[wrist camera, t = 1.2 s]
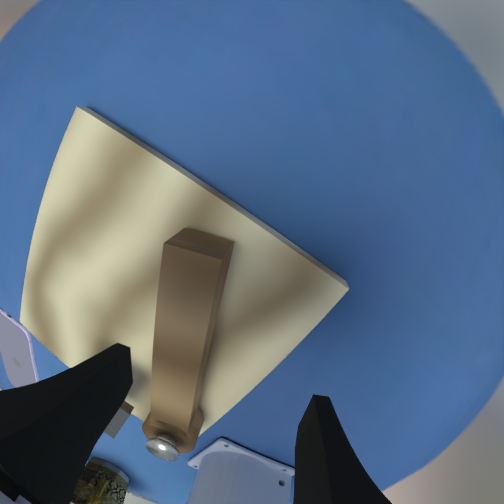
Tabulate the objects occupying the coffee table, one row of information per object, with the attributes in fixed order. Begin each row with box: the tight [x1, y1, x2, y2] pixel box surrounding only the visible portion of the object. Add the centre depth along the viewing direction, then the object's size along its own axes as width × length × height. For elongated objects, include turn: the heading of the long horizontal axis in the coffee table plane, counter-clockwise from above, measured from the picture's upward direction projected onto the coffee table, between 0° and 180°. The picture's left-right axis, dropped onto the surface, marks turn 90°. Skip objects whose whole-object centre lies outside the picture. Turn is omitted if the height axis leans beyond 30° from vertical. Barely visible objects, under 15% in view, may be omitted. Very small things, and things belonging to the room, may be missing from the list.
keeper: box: [104, 401, 179, 461], centre depth 21 cm, size 10×6×5 cm, turn 57°
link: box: [142, 228, 235, 453], centre depth 19 cm, size 18×4×3 cm, turn 167°
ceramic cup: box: [70, 458, 129, 504], centre depth 28 cm, size 13×10×10 cm
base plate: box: [20, 106, 349, 436], centre depth 21 cm, size 21×22×1 cm
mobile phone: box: [0, 308, 39, 388], centre depth 28 cm, size 8×1×15 cm
